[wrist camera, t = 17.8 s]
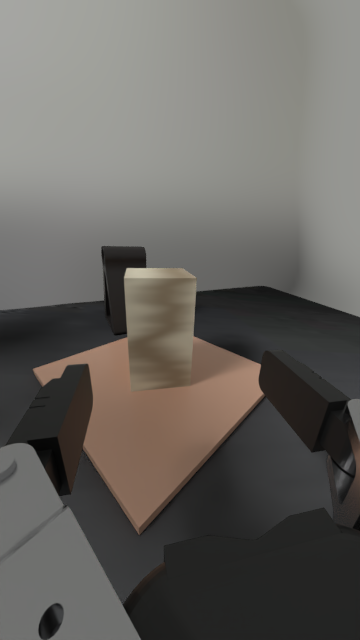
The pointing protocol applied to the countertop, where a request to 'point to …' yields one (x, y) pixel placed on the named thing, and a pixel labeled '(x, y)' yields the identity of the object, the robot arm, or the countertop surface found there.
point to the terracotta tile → (159, 422)
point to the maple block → (159, 326)
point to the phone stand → (118, 282)
